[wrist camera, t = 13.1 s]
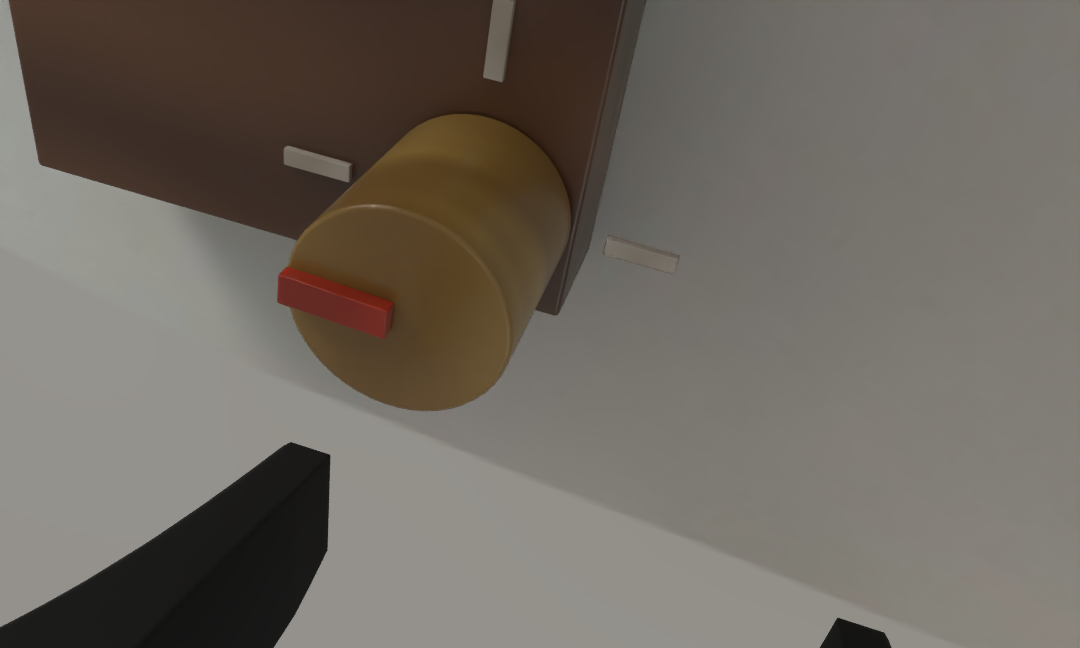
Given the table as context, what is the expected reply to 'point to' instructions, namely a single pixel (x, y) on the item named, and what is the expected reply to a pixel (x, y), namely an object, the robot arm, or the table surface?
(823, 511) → the table surface
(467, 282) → the dimmer knob
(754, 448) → the table surface
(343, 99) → the dimmer panel
